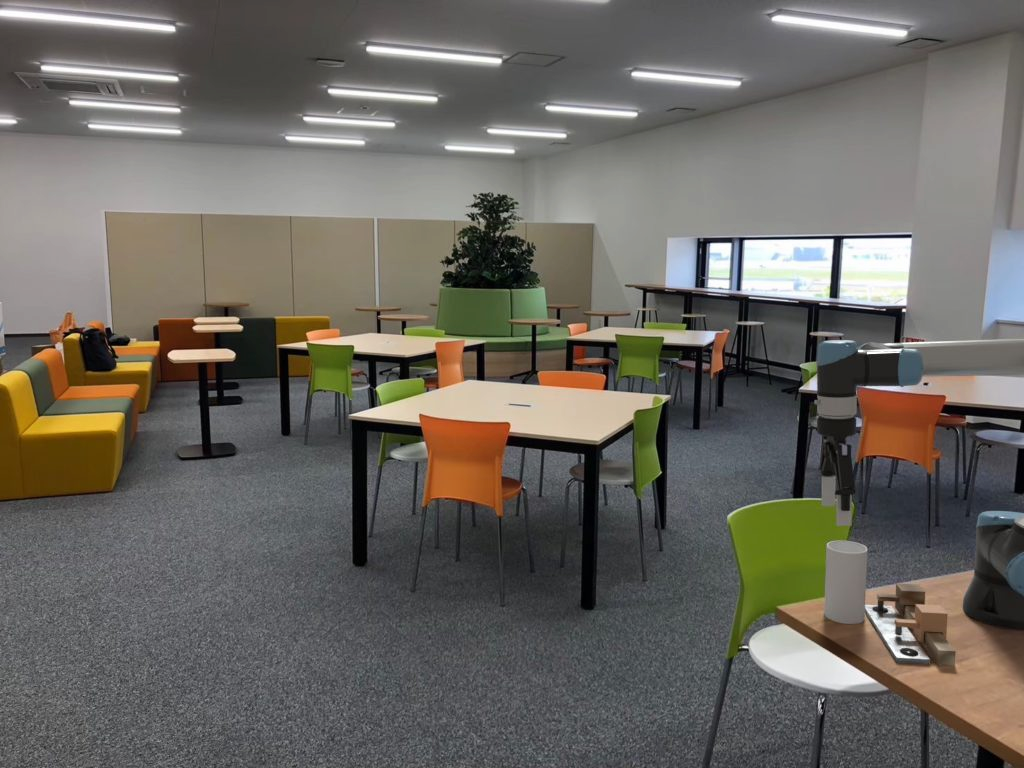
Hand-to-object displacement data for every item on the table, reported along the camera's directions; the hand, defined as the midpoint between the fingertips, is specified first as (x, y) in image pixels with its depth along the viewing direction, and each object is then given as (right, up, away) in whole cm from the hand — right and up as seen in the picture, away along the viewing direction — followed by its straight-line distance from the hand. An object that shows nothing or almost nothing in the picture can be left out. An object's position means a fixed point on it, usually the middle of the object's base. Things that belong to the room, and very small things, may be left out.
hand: (835, 515), depth 164 cm
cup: (+6, -24, +9) cm, 26 cm away
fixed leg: (+18, -23, +9) cm, 30 cm away
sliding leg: (+15, -25, -4) cm, 29 cm away
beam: (+18, -25, -1) cm, 31 cm away
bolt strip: (+12, -25, 0) cm, 28 cm away
